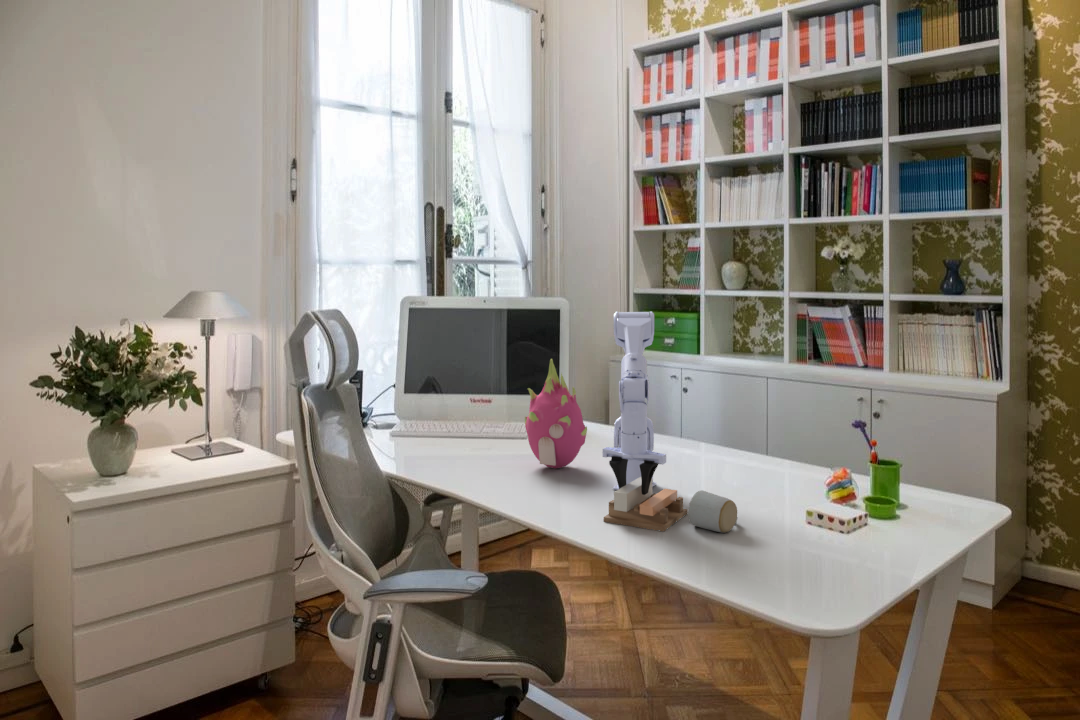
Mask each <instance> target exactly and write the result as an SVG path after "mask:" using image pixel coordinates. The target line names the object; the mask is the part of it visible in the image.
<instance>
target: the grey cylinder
mask: <svg viewBox="0 0 1080 720" xmlns="http://www.w3.org/2000/svg"><path fill="white" fill-rule="evenodd" d="M687 516H688V520H689V523H690V525H692V526H694V527H698V528H702V529H705V530H710V531H714V532H715V533H716V532H718V533H723V534H724V533H729V532H730V531H731V530H732V529H733V528H734V526H735V525H737V522H738V518H739V517H738V507H737V504H736V502H734V501H733V500H731V499H729V498H728V497H724V496H720V495H718V494H714V493H712V492H708V491H706V490H698V491H696V492H695V493H694V494H693V496H692V497H691V500H690V502H689V506H688V514H687Z"/></svg>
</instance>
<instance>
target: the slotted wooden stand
mask: <svg viewBox="0 0 1080 720" xmlns="http://www.w3.org/2000/svg"><path fill="white" fill-rule="evenodd" d="M656 494H657V493H652V495H651V496H650V497H649V498H651V497H653V496H654V495H656ZM649 498H648V499H649ZM648 499H646V500H648ZM646 500H645V501H646ZM645 501H643V502H645ZM643 502H641V503H640V504H642V503H643ZM640 504H637V505H635V506H634V508H632V509H631V510H629V511H627V512H624V511H618V510H614V499H611V500H610V501H608V514H606V515H605V516H603V522H604V523H611V524H617V525H623V526H628V527H633V528H634V527H635V528H640V529H645V528H646V529H645V530H651V529H653V530H652V531H657V530H660V531H659V532H663V531H664V532H666V531H667V530H668V529H669V528H671V527H672V526H673V525H675V524H676V523H677V522H678V521H680V520H681V519H682V518H684V517H685V516H686V515H688V514H687V513H688V510H689V508H684V497H683V496H681V497H680V496H677V499H676V500H675V501H674V502H672V503H671V504H669V505H668V506H666V507H665V508H662V509H661V510H660V511H659V512H658V513H656V514H655V515H654V516H649V515H643V514H640ZM684 515H685V516H684ZM683 516H684V517H683ZM680 518H681V519H680ZM679 519H680V520H679ZM676 521H677V522H676ZM675 522H676V523H675ZM674 523H675V524H674ZM671 525H672V526H671ZM670 526H671V527H670ZM667 528H668V529H667ZM666 529H667V530H666Z"/></svg>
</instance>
